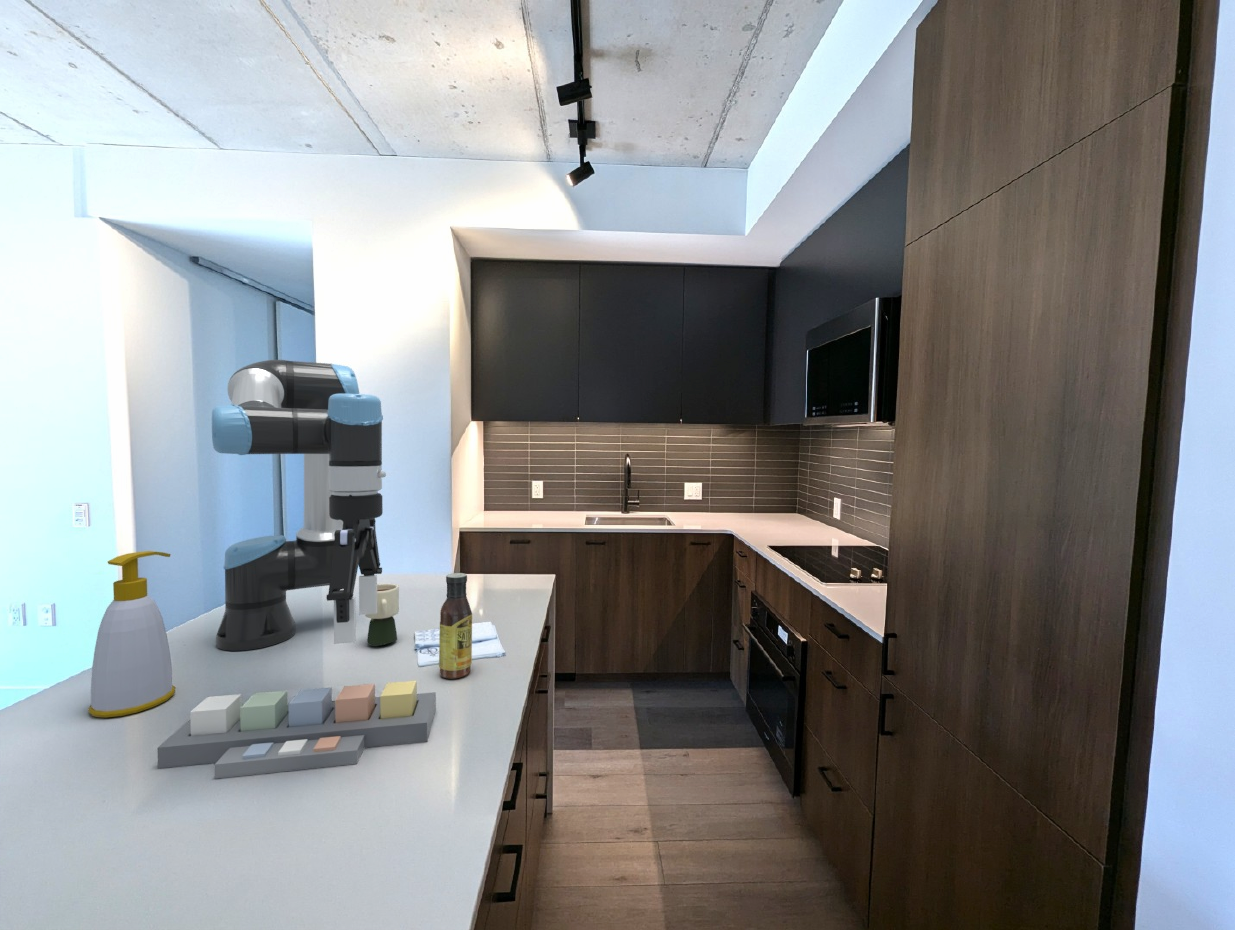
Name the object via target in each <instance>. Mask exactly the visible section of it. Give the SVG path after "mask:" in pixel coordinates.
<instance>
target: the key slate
mask: <svg viewBox="0 0 1235 930" xmlns="http://www.w3.org/2000/svg"><path fill="white" fill-rule="evenodd" d="M332 688H333V687H332V686H331V687H329V686H328V687H318V688H317V687H315V688H305V689H302V688H301V689H300V690H298V692H297V693H296V694H295V696H294V697H293V698H292V699H291V700H290V702H288V704H289V727H298V726H309V725H320V724H324V723H325V721H326V720H327V718H328V717H329V715H330V714H331V712H332V701H333V689H332Z"/></svg>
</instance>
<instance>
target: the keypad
mask: <svg viewBox="0 0 1235 930" xmlns="http://www.w3.org/2000/svg"><path fill="white" fill-rule="evenodd" d="M436 710H437V692H436V691H434V692H422V693H417V705H416V708H415V710H414V713H413V716H409V717H398V718H387V719H381V696H375V709H374V711H373V713H372V715H371V717H370V719H369V720H365V721H354V722H342V723H336V717H335V700H332V712H331V714H330V715H329V717H328V718H327V720H326V721H325V723H324V724H320V725H309V726H298V727H289V703H288V715H287V716H286V717H285V718H284V720H283V721H282V722H281V723H280V725H279V726H278V727H277V728H276V729H265V730H254V731H243V732H241V720H239V721H238V723H237V724H236V725H235V726H234V727H233V728H232V729H231V730H230V731H229V732H228V733H221V734H209V735H198V736H191V722H190V719H188V720H187V721H186V722H185V723H184V724H182V726H181V727H179V728H178V729H176V731H175V732H174V733H172V734H171V735H170V736H169V737H168V738H166V739H165V740H164V741H163V742H162V743H160V744H159V746H158V747H157V750H156V751H157V752H156V753H157V769H165V768H177V767H185V766H194V765H195V766H196V765H206V764H207V765H209V764H214V780H218V779H225V778H226V779H227V778H234V777H244V776H251V775H252V776H253V775H264V774H265V775H266V774H271V773H272V774H274V773H275V774H276V773H283V772H290V771H303V770H310V769H311V770H312V769H321V768H329V767H338V766H349V765H357V764H358V763H359V760H360V758H361V756H362V754H363V751H365V749H366V748H374V747H375V748H376V747H377V748H378V747H384V746H385V747H386V746H394V745H395V746H396V745H406V744H407V745H409V744H414V743H426V742H428V739H429V735H430V732H431V729H432V726H433V725H432V724H433V722H434V718H435V714H436Z"/></svg>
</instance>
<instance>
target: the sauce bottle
mask: <svg viewBox="0 0 1235 930" xmlns="http://www.w3.org/2000/svg"><path fill="white" fill-rule="evenodd" d="M445 582H446V595H445V596H446V599H445V601H444V603H443V604H442V606H441V608H440V612H439V613H440V619H439V620H440V621H439V628H440V639H439V664H438V668H439V675H440V676H441V677H442V678H443V679H451V680H455V679H460V678H463V677H465V676H467V675H469V674H470V672H471V668H472V667H471V665H472V661H473V660H472V624H473V611H472V609H471V607H470V603H469V600H468V597H467V582H468V575H467V573H463V572H455V573H454V572H453V573H450V574H449V573H448V574H447V575H446V576H445Z"/></svg>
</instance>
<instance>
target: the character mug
mask: <svg viewBox="0 0 1235 930" xmlns="http://www.w3.org/2000/svg"><path fill="white" fill-rule="evenodd" d="M399 588H400V587H399V585H398V584H397V583H396V584H395V583H379V584H378V583H377V613H376V614H364V615H365V617H366V618H369V619H370V621H369V625H368V632H367V641H366V642H367V645H369V646H372V647H379V646H385V645H387V644H391V643H393V642H396V641H397V640H398V635H397V634H398V633H397V626H396V621H395V618H394V616H396V615H398V614H399V611H400V596H399V595H400V593H399V592H400V589H399Z"/></svg>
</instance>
